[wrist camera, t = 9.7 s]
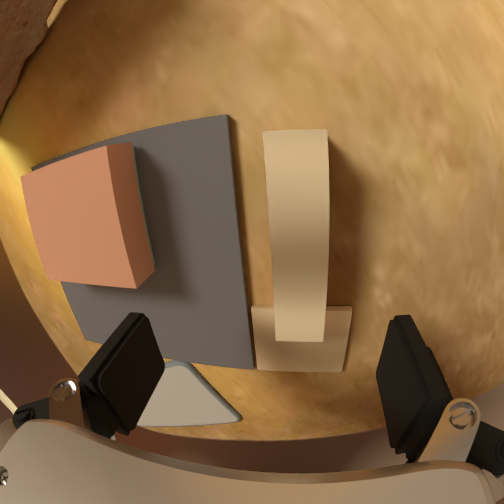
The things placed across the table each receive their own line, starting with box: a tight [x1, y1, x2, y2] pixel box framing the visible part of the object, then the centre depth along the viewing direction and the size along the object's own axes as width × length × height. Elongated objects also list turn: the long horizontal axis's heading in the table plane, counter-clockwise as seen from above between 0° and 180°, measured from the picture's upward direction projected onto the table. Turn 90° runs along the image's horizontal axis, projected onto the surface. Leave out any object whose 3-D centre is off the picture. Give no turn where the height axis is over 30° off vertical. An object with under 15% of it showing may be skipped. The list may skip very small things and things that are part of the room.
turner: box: [251, 129, 352, 372], centre depth 13 cm, size 14×6×3 cm, turn 5°
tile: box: [21, 142, 155, 289], centre depth 13 cm, size 2×7×8 cm
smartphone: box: [137, 360, 241, 427], centre depth 22 cm, size 8×1×15 cm
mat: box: [32, 115, 255, 370], centre depth 16 cm, size 15×15×1 cm
